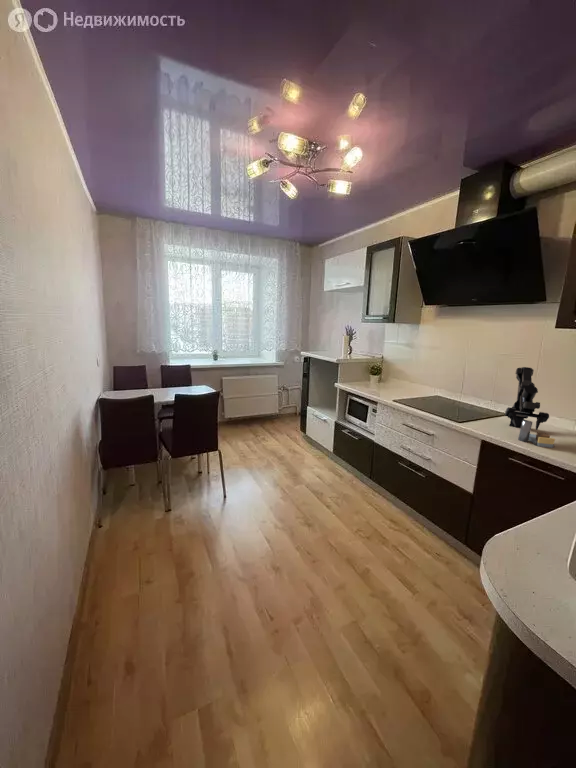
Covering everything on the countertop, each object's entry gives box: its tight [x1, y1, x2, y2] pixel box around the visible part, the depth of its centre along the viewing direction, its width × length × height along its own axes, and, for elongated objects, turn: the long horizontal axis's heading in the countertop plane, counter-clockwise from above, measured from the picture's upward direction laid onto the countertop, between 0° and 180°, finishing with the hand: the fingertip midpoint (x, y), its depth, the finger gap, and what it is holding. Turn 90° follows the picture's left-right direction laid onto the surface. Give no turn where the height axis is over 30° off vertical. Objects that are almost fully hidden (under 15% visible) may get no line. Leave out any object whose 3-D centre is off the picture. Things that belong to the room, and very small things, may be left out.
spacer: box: [518, 419, 533, 443], centre depth 170 cm, size 4×4×11 cm
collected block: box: [535, 431, 551, 441], centre depth 166 cm, size 4×4×4 cm
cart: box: [528, 433, 556, 449], centre depth 170 cm, size 14×9×5 cm, turn 169°
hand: (526, 428), depth 169 cm, fingers open, 9 cm apart
